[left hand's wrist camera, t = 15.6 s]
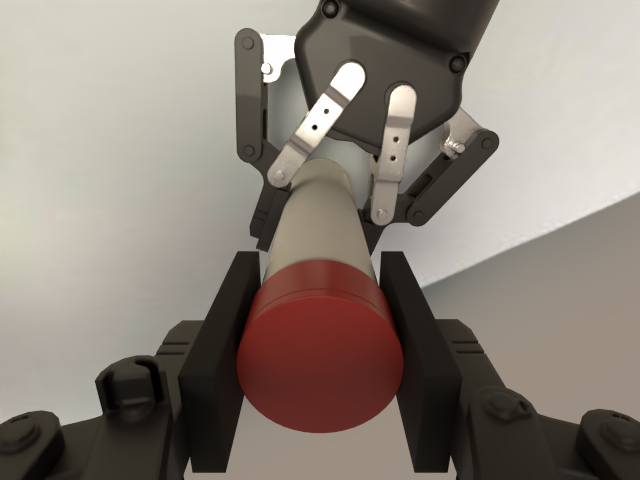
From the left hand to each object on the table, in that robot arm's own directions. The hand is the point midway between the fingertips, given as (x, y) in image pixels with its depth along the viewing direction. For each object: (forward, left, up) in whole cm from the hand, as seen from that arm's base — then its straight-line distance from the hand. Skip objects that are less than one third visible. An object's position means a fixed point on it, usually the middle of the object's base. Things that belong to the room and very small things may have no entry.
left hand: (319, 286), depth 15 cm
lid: (0, 0, +4) cm, 4 cm away
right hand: (-2, -2, -8) cm, 9 cm away
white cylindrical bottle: (0, 0, -14) cm, 14 cm away
